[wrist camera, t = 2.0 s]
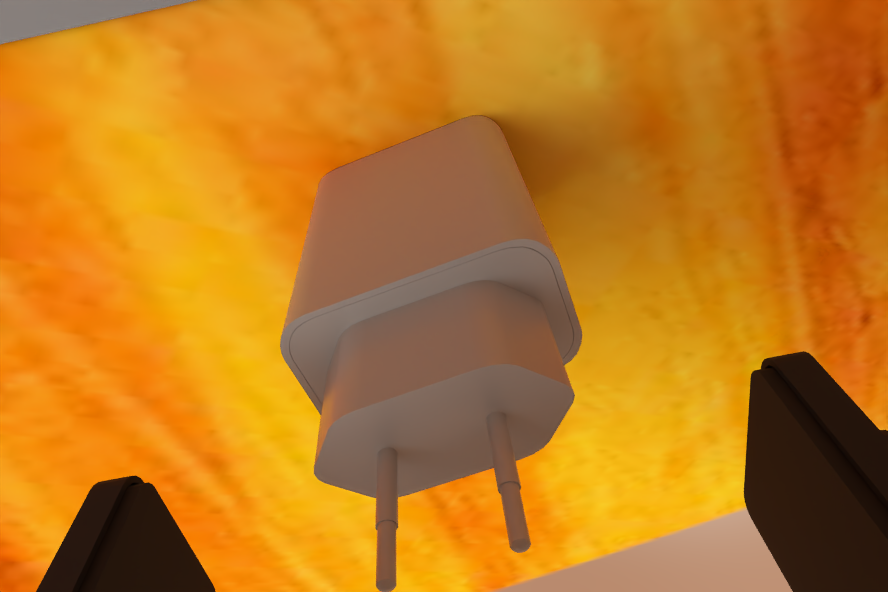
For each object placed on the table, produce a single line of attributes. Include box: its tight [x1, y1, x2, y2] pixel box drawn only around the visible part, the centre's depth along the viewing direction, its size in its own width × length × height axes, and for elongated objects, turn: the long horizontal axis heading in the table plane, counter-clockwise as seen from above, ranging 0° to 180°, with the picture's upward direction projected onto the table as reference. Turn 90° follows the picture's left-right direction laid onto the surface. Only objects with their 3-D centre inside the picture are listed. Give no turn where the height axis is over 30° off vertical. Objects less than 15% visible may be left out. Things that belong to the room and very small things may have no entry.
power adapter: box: [280, 116, 582, 592], centre depth 13 cm, size 3×5×12 cm, turn 111°
